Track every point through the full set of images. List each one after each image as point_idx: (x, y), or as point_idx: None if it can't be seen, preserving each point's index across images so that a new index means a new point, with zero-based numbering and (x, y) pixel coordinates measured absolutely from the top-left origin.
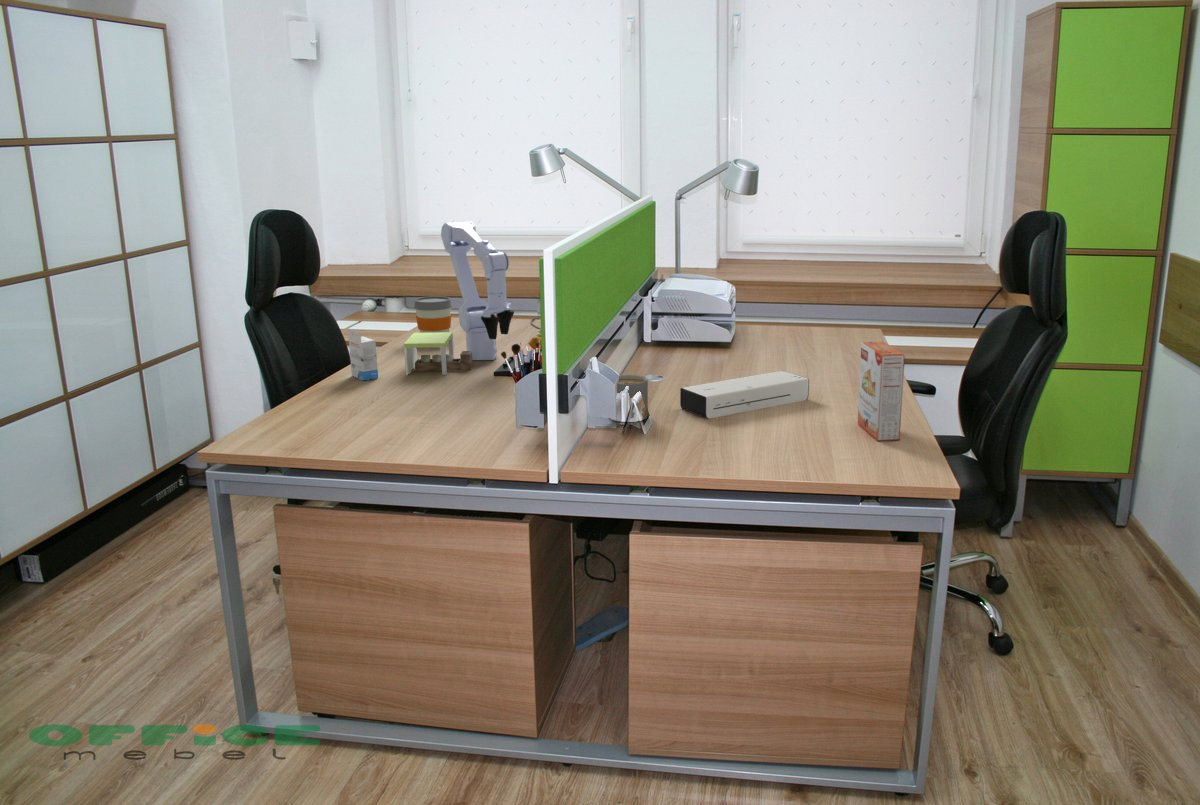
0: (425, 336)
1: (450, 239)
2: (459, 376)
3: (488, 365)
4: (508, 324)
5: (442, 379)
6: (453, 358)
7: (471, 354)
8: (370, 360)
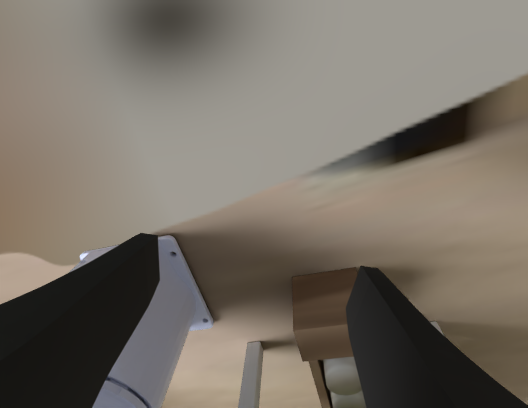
0: None
1: None
2: (467, 276)
3: (263, 228)
4: (94, 285)
5: (512, 314)
6: (251, 356)
7: (319, 317)
8: None
